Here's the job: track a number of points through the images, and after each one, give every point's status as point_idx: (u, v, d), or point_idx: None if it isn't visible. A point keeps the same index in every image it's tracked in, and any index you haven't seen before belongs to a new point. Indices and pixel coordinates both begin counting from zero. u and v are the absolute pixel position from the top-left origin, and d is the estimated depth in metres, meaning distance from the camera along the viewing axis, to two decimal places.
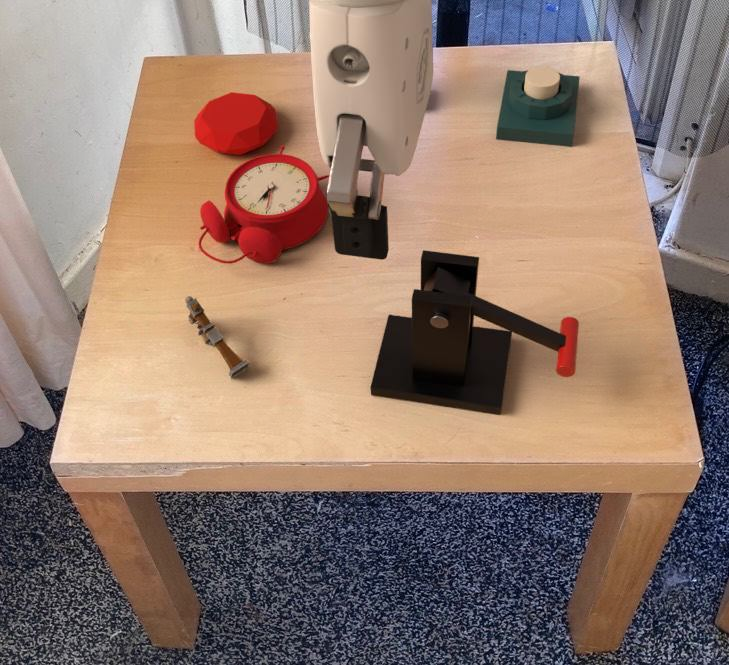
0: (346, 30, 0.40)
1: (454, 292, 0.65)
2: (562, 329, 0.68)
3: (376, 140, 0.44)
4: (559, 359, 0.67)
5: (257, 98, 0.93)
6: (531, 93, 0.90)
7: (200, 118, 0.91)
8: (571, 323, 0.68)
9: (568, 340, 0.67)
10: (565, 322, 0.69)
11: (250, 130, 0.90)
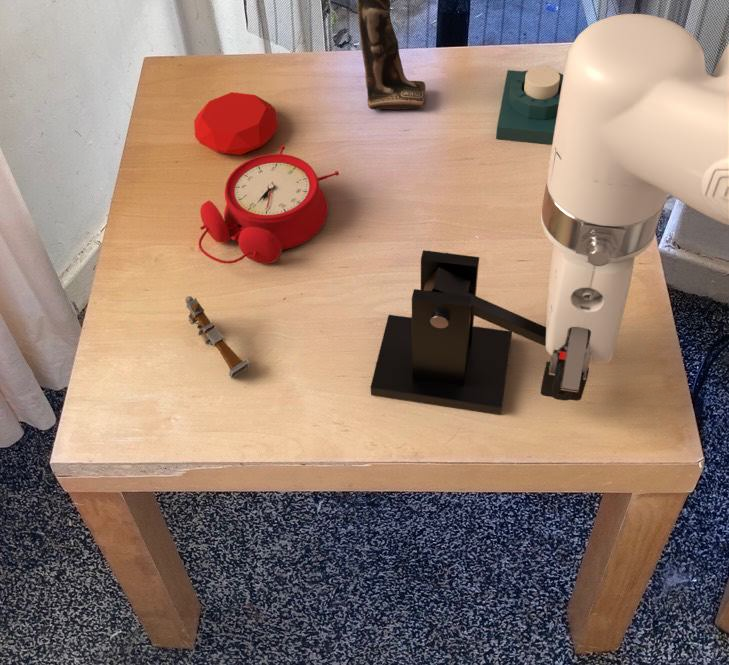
0: (591, 279, 0.55)
1: (454, 292, 0.65)
2: None
3: (596, 344, 0.59)
4: None
5: (257, 98, 0.93)
6: (531, 93, 0.90)
7: (200, 118, 0.91)
8: None
9: None
10: None
11: (250, 130, 0.90)
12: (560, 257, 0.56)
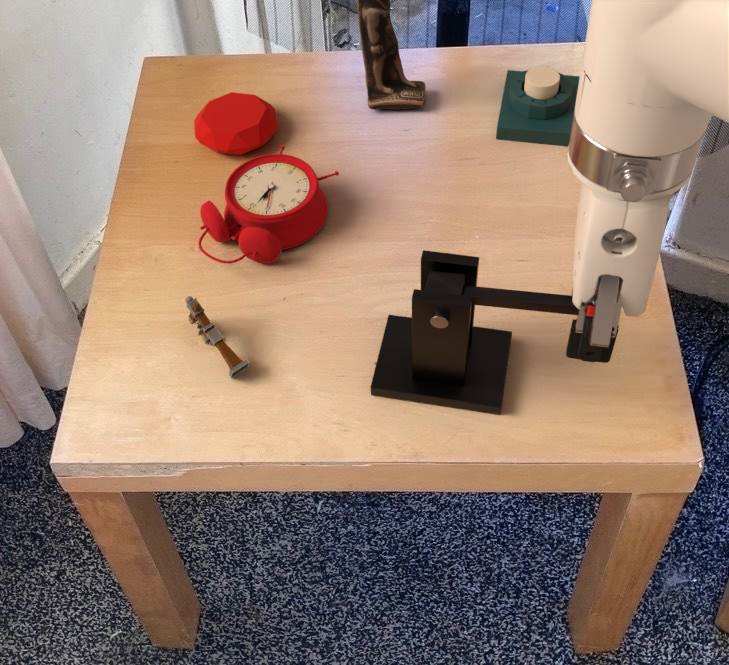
0: (624, 219, 0.50)
1: (447, 289, 0.64)
2: None
3: (628, 293, 0.54)
4: None
5: (257, 98, 0.93)
6: (531, 93, 0.90)
7: (200, 118, 0.91)
8: None
9: None
10: None
11: (250, 130, 0.90)
12: (589, 196, 0.51)
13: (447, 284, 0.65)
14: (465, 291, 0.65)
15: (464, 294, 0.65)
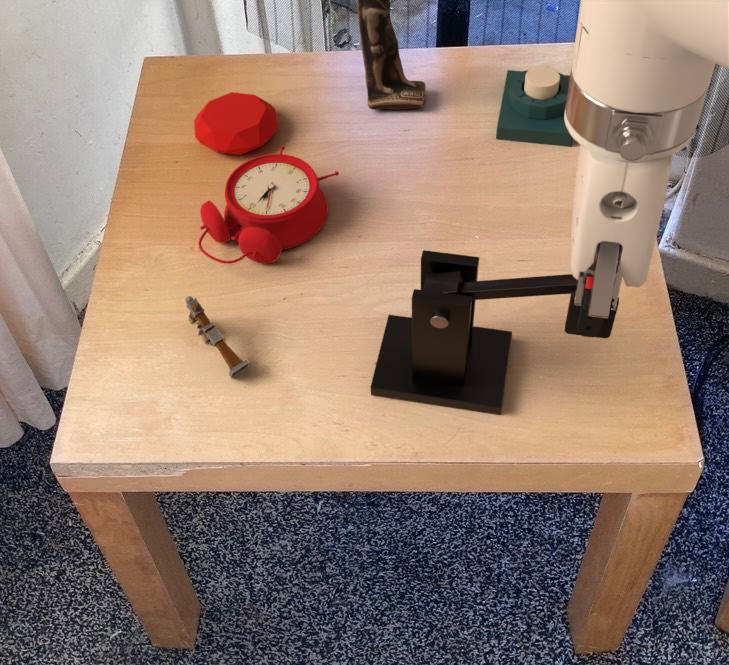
0: (623, 180, 0.48)
1: (443, 288, 0.64)
2: None
3: (628, 262, 0.52)
4: None
5: (257, 98, 0.93)
6: (531, 93, 0.90)
7: (200, 118, 0.91)
8: None
9: None
10: None
11: (250, 130, 0.90)
12: (587, 158, 0.49)
13: (443, 283, 0.65)
14: (463, 288, 0.65)
15: (462, 291, 0.65)
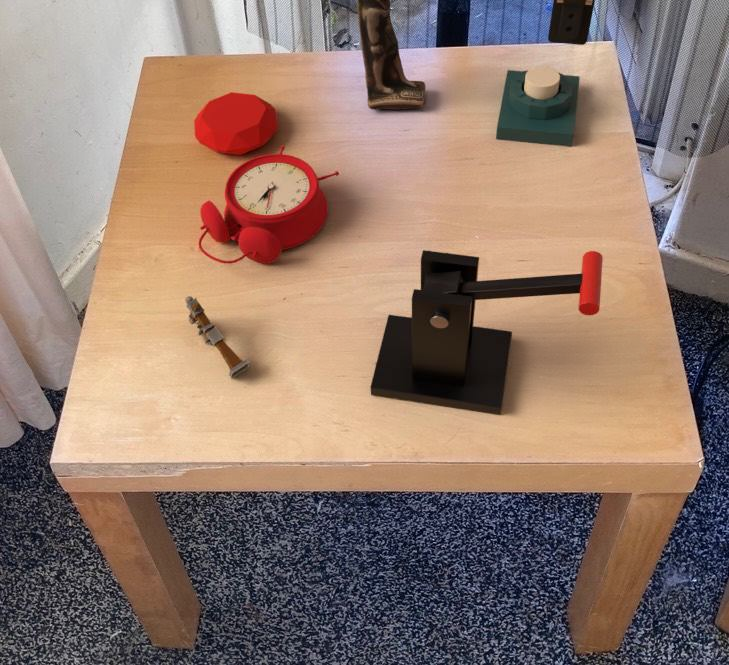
0: None
1: (443, 288, 0.64)
2: (582, 268, 0.62)
3: None
4: (579, 300, 0.61)
5: (257, 98, 0.93)
6: (531, 93, 0.90)
7: (200, 118, 0.91)
8: (587, 258, 0.62)
9: (584, 276, 0.61)
10: (583, 260, 0.63)
11: (250, 130, 0.90)
12: None
13: (443, 283, 0.65)
14: (463, 288, 0.65)
15: (462, 291, 0.65)
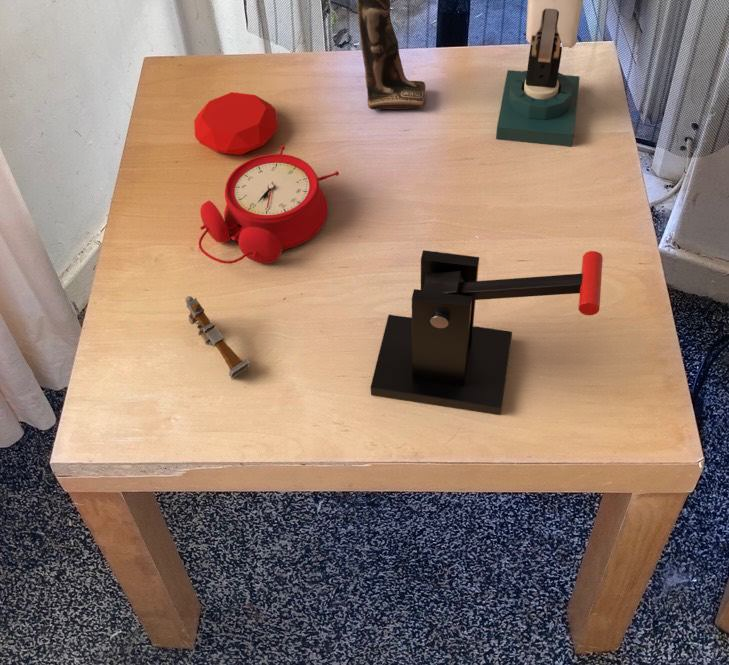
0: None
1: (443, 288, 0.64)
2: (582, 268, 0.62)
3: (563, 24, 0.79)
4: (579, 300, 0.61)
5: (257, 98, 0.93)
6: None
7: (200, 118, 0.91)
8: (587, 258, 0.62)
9: (584, 276, 0.61)
10: (583, 260, 0.63)
11: (250, 130, 0.90)
12: None
13: (443, 283, 0.65)
14: (463, 288, 0.65)
15: (462, 291, 0.65)
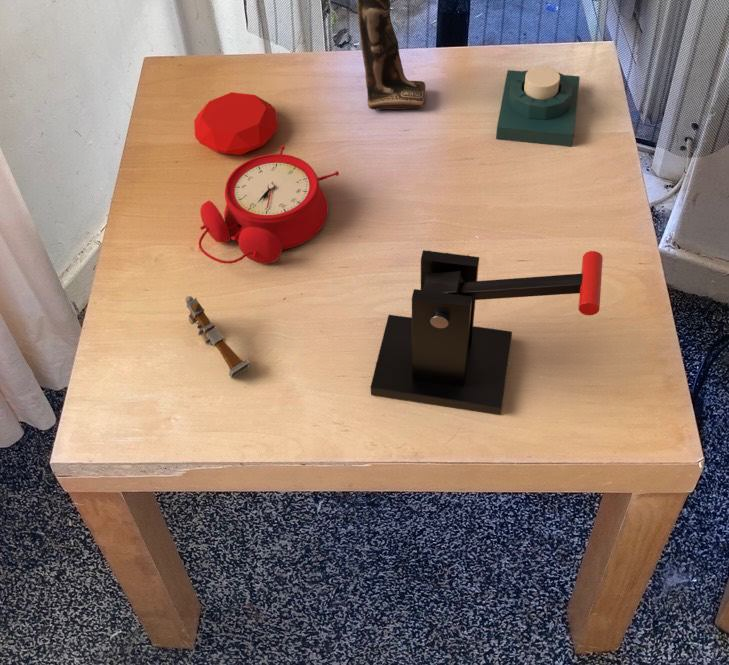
0: None
1: (443, 288, 0.64)
2: (582, 268, 0.62)
3: None
4: (579, 300, 0.61)
5: (257, 98, 0.93)
6: (531, 93, 0.90)
7: (200, 118, 0.91)
8: (587, 258, 0.62)
9: (584, 276, 0.61)
10: (583, 260, 0.63)
11: (250, 130, 0.90)
12: None
13: (443, 283, 0.65)
14: (463, 288, 0.65)
15: (462, 291, 0.65)
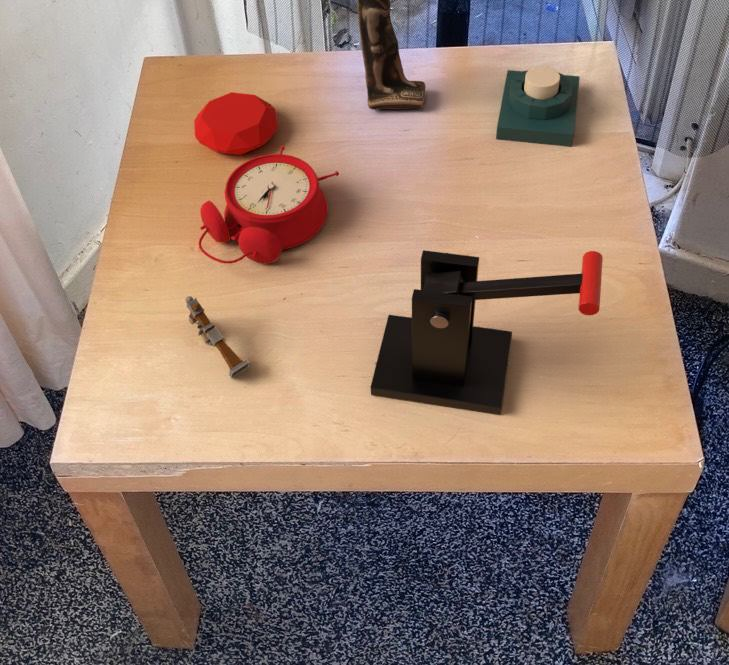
0: None
1: (443, 288, 0.64)
2: (582, 268, 0.62)
3: None
4: (579, 300, 0.61)
5: (257, 98, 0.93)
6: (531, 93, 0.90)
7: (200, 118, 0.91)
8: (587, 258, 0.62)
9: (584, 276, 0.61)
10: (583, 260, 0.63)
11: (250, 130, 0.90)
12: None
13: (443, 283, 0.65)
14: (463, 288, 0.65)
15: (462, 291, 0.65)
